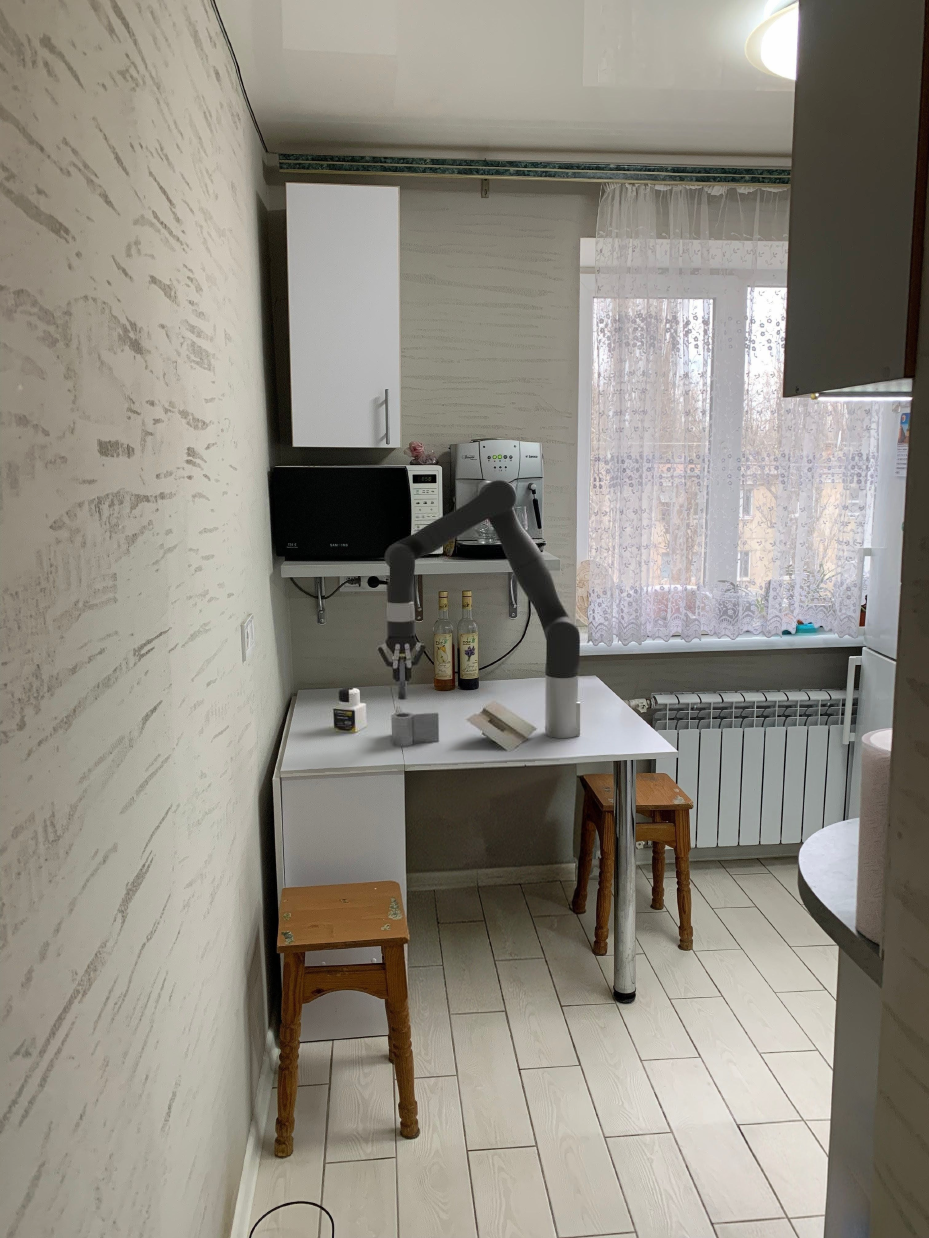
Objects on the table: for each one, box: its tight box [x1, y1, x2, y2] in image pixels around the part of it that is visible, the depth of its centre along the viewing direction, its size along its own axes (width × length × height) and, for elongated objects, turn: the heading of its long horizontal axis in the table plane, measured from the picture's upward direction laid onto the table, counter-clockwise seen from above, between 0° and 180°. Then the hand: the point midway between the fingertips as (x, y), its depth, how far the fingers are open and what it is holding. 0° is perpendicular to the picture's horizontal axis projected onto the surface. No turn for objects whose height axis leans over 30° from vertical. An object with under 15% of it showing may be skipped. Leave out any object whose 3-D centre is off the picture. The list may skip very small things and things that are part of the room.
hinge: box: [390, 705, 440, 748], centre depth 256 cm, size 13×13×8 cm
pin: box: [397, 653, 408, 701], centre depth 249 cm, size 3×3×13 cm
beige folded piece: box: [465, 700, 538, 752], centre depth 255 cm, size 16×9×15 cm
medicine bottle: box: [332, 687, 367, 734], centre depth 266 cm, size 7×7×12 cm
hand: (401, 680), depth 250 cm, fingers closed on pin, 2 cm apart
